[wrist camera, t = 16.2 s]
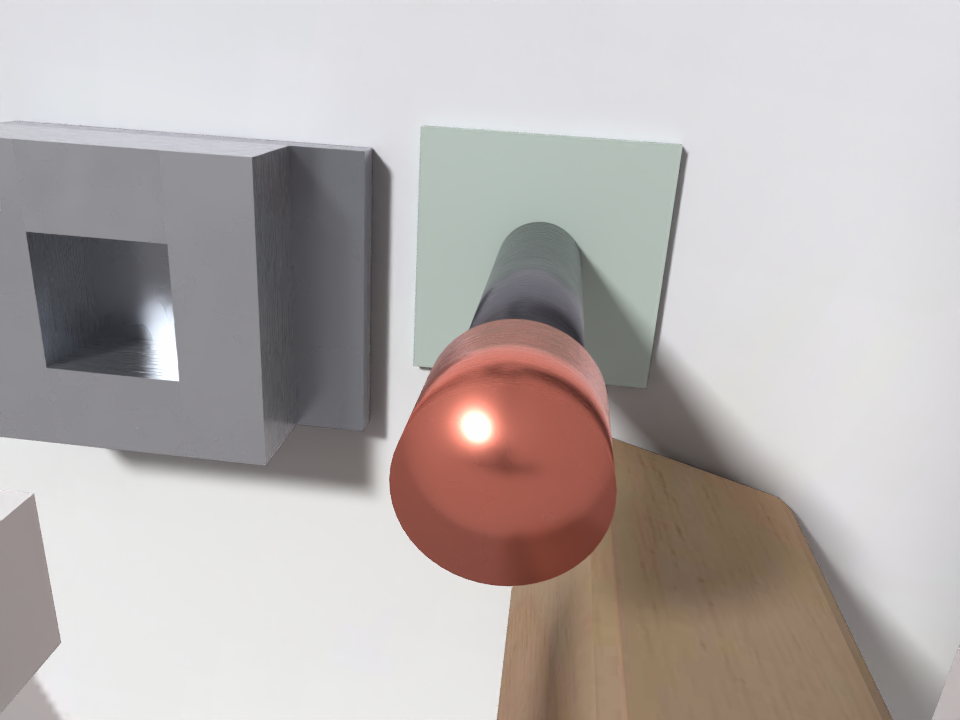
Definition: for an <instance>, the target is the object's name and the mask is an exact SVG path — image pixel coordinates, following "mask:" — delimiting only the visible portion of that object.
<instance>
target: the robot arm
mask: <svg viewBox="0 0 960 720" xmlns="http://www.w3.org/2000/svg"><path fill="white" fill-rule="evenodd" d="M60 643H61V640H60V634H59V629H58V623H57V618H56V612H55V607H54V601H53V596H52V590H51V585H50V579H49V574H48V568H47V563H46V557H45V552H44V546H43V541H42V535H41V530H40V524H39V519H38V513H37V508H36V502H35V497H34V493H27V492H19V491H10V490H1V489H0V714H1V713H2V711H3V710H4V709H5V708H6V707H7V705H8V704H9V703H10V702H11V701H12V700H13V698H14V697H15V696H16V695H17V694H18V693H19V691H20V690H21V689H22V688H23V687H24V686H25V684H26V683H27V682H28V681H29V680H30V678H31V677H32V676H33V675H34V674H35V673H36V672H37V670H38V669H39V668H40V667H41V666H42V664H43V663H44V662H45V661H46V660H47V659H48V657H49V656H50V655H51V654H52V653H53V652H54V650H55V649H56V648H57V647H58V646H59V645H60ZM932 720H960V644H959V647H958V650H957V652H956V655H955V658H954V661H953V663H952V666H951V669H950V671H949V674H948V677H947V680H946V682H945V685H944V688H943V690H942V693H941V696H940V699H939V701H938V704H937V707H936V709H935V712H934V715H933V718H932Z"/></svg>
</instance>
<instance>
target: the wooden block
mask: <svg viewBox="0 0 960 720" xmlns="http://www.w3.org/2000/svg"><path fill="white" fill-rule="evenodd" d="M612 446H613V456H614V466H615V476H616V488H617V495H616V506H615V510H614V515H613V518H612V521H611V523H610V526H609V529H608V530H607V532H606V534H605V536H604V537H603V539H602V541H601V542H600V543H599V545H598V546H597V547H596V549H595V550H594V551H593V552H592V553H591V554H590V555H589V556H588V557H587V558H586V559H585V560H584V561H582V562H581V563H579V564H578V565H577V566H575V567H574V568H572V569H571V570H569V571H567V572H565V573H564V574H562V575H559V576H557V577H554V578H552V579H550V580H546V581H542V582H539V583H535V584H529V585H522V586H513V587H512V591H511V600H510V609H509V618H508V626H507V635H506V644H505V653H504V662H503V670H502V679H501V688H500V697H499V705H498V714H497V720H893V719H892V717H891V715H890V713H889V711H888V709H887V707H886V705H885V703H884V701H883V699H882V697H881V695H880V692H879V690H878V688H877V686H876V684H875V682H874V680H873V678H872V676H871V674H870V672H869V670H868V668H867V665H866V663H865V661H864V659H863V657H862V655H861V653H860V651H859V649H858V647H857V645H856V643H855V641H854V638H853V636H852V634H851V632H850V630H849V628H848V626H847V624H846V622H845V620H844V618H843V616H842V614H841V611H840V609H839V607H838V605H837V603H836V601H835V599H834V597H833V595H832V593H831V591H830V589H829V587H828V584H827V582H826V580H825V578H824V576H823V574H822V572H821V570H820V568H819V566H818V564H817V562H816V560H815V558H814V555H813V553H812V551H811V549H810V547H809V545H808V543H807V541H806V539H805V537H804V535H803V533H802V531H801V528H800V526H799V524H798V522H797V520H796V518H795V516H794V514H793V512H792V510H791V508H789V507H788V506H787V505H786V504H785V503H784V502H783V501H782V500H781V499H779V498H778V497H775V496H773V495H770V494H768V493H765V492H762V491H759V490H757V489H754V488H751V487H748V486H745V485H743V484H740V483H737V482H734V481H731V480H729V479H726V478H723V477H720V476H717V475H715V474H712V473H709V472H706V471H703V470H701V469H698V468H695V467H692V466H689V465H687V464H684V463H681V462H678V461H675V460H673V459H670V458H667V457H664V456H661V455H659V454H656V453H653V452H650V451H647V450H645V449H642V448H639V447H636V446H634V445H631V444H628V443H625V442H622V441H620V440H617V439H614V438H612Z"/></svg>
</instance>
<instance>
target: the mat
mask: <svg viewBox="0 0 960 720" xmlns="http://www.w3.org/2000/svg"><path fill="white" fill-rule="evenodd" d="M682 147H683V145H682V144H669V143H656V142H642V141H628V140H614V139H601V138H587V137H573V136H560V135H546V134H532V133H519V132H505V131H491V130H478V129H464V128H450V127H436V126H421V137H420V169H419V201H418V232H417V264H416V296H415V327H414V359H413V366H420V367H430V368H432V367H433V365H434V363H435V362H436V360H437V358H438V357H439V355H440V354H441V353H442V352H443V350H444V349H445V348H446V347H447V346H448V345H449V344H450V343H451V342H452V341H453V340H454V339H455V338H457V337H458V336H460V335H461V334H463V333H464V332H466V331H468V330H469V328H470V325H471V323H472V320H473V318H474V315H475V312H476V310H477V307H478V305H479V302H480V299H481V297H482V294H483V291H484V289H485V286H486V284H487V281H488V278H489V276H490V273H491V270H492V268H493V265H494V263H495V260H496V257H497V255H498V252H499V250H500V247H501V245H502V243H503V241H504V240H505V238H506V237H507V236H508V235H509V234H510V233H511V232H512V231H513V230H515V229H516V228H518V227H520V226H522V225H524V224H527V223H531V222H547V223H551V224H554V225H557V226H559V227H561V228H562V229H564V230H565V231H566V232H568V233H569V234H570V235H571V236H572V238H573V239H574V240H575V242H576V244H577V246H578V248H579V251H580V255H581V264H582V290H583V316H584V342H585V350H586V351H587V352H588V353H589V354H590V356H591V357H592V358H593V360H594V361H595V363H596V364H597V366H598V368H599V370H600V372H601V374H602V377H603V379H604V382H605V385H615V386H625V387H635V388H645V389H646V387H647V381H648V374H649V367H650V361H651V354H652V347H653V341H654V334H655V327H656V321H657V314H658V307H659V301H660V294H661V287H662V281H663V274H664V267H665V261H666V254H667V247H668V241H669V234H670V227H671V221H672V214H673V207H674V201H675V194H676V187H677V181H678V174H679V167H680V161H681V154H682Z"/></svg>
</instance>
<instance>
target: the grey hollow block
mask: <svg viewBox="0 0 960 720" xmlns="http://www.w3.org/2000/svg"><path fill="white" fill-rule="evenodd" d="M371 224H372V148H366V147H353V146H340V145H327V144H314V143H300V142H287V141H274V140H261V139H247V138H234V137H221V136H208V135H195V134H181V133H168V132H155V131H142V130H129V129H115V128H102V127H89V126H76V125H63V124H49V123H36V122H23V121H11V122H3V123H0V437H7V438H16V439H26V440H35V441H44V442H53V443H62V444H71V445H80V446H89V447H99V448H108V449H117V450H126V451H135V452H144V453H153V454H163V455H172V456H181V457H190V458H199V459H208V460H217V461H226V462H236V463H245V464H254V465H263V466H266V465H267V463H268V462H269V461H270V459H271V458H272V457H273V455H274V454H275V453H276V451H277V450H278V449H279V447H280V446H281V445H282V443H283V442H284V441H285V439H286V438H287V436H288V435H289V434H290V432H291V431H292V430H293V428H294V427H295V426H296V424H298V425H308V426H317V427H327V428H336V429H346V430H355V431H363V430H364V429H365V427H366V425H367V423H368V422H369V420H370V325H371Z"/></svg>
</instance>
